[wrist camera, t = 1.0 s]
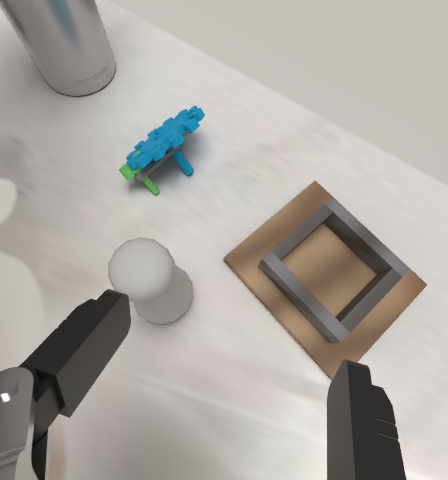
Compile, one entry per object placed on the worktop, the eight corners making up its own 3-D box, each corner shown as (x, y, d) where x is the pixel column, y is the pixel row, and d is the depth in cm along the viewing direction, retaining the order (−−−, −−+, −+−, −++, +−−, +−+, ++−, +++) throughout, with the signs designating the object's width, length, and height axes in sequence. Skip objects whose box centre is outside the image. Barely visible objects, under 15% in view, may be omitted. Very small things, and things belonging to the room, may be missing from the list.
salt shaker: (144, 333, 31) (99, 324, 18) (131, 278, 32) (82, 237, 20) (201, 314, 31) (194, 294, 19) (186, 262, 33) (170, 213, 21)
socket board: (223, 260, 33) (225, 248, 29) (312, 185, 37) (324, 166, 33) (333, 381, 30) (352, 387, 26) (419, 286, 33) (448, 278, 29)
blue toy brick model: (179, 102, 38) (211, 98, 29) (205, 142, 41) (241, 149, 33) (108, 159, 37) (121, 172, 28) (141, 196, 40) (161, 218, 31)
